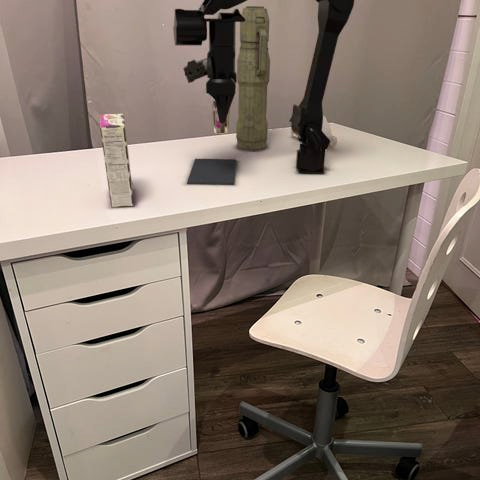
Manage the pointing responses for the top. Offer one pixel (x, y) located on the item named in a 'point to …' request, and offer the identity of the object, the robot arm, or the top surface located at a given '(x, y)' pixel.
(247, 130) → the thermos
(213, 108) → the milkshake
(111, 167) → the candy bar box
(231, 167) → the mat
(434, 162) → the top surface
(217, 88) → the robot arm
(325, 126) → the superhero figure
